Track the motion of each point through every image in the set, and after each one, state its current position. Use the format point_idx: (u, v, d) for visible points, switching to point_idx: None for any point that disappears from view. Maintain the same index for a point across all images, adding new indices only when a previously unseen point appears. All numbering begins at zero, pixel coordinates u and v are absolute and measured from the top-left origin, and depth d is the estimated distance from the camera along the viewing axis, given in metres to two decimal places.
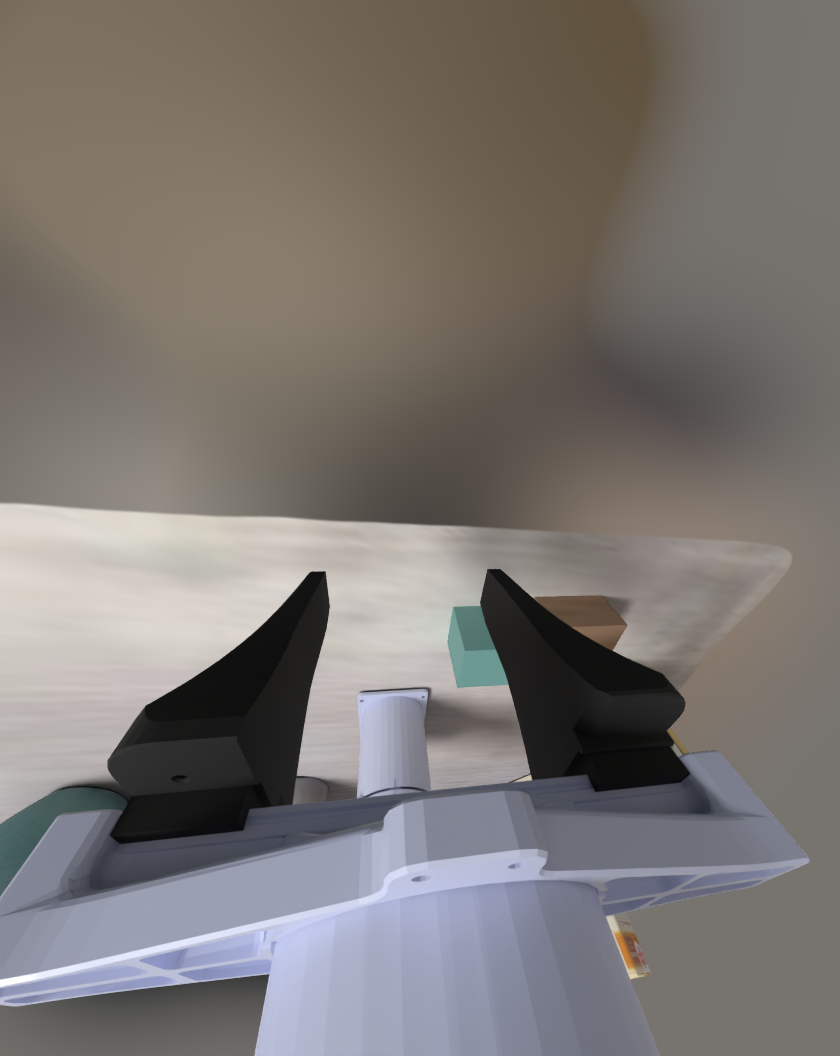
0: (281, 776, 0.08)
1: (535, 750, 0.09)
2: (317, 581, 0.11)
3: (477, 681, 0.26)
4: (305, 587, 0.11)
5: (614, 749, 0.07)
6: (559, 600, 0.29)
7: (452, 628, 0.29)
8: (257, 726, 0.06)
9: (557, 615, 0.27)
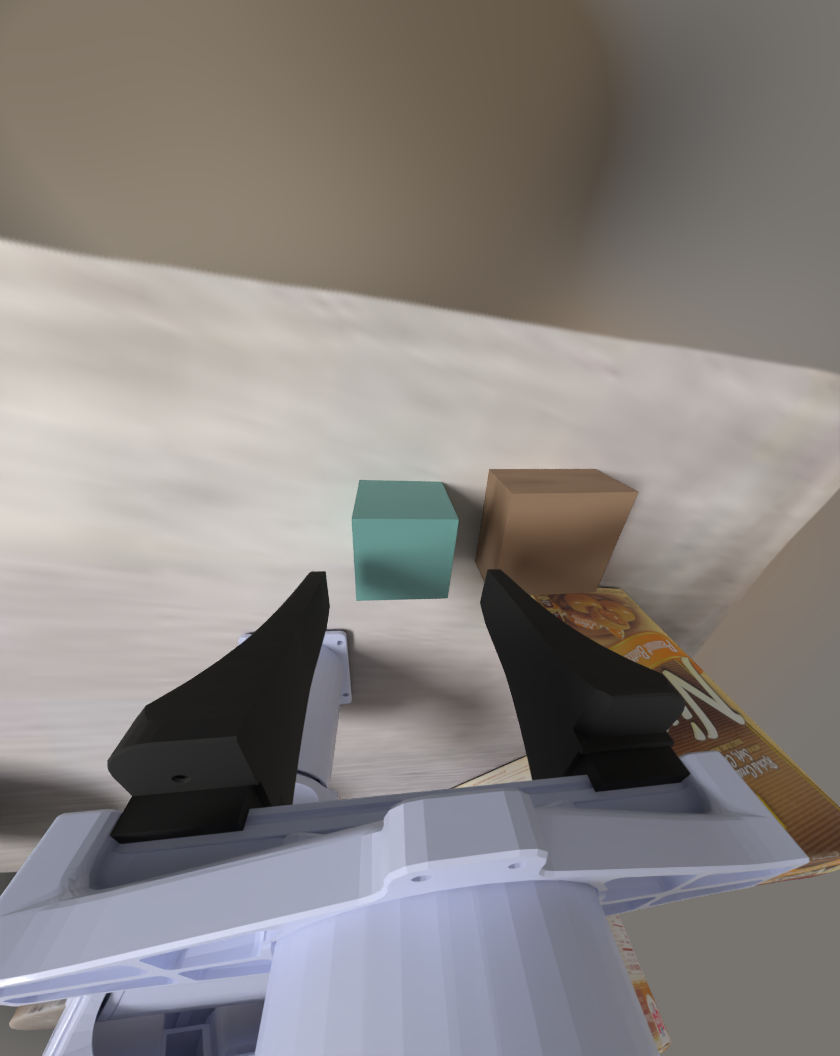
0: (281, 776, 0.08)
1: (534, 750, 0.09)
2: (317, 581, 0.11)
3: (388, 589, 0.16)
4: (305, 587, 0.11)
5: (614, 749, 0.07)
6: (527, 472, 0.18)
7: None
8: (257, 726, 0.06)
9: (521, 483, 0.16)
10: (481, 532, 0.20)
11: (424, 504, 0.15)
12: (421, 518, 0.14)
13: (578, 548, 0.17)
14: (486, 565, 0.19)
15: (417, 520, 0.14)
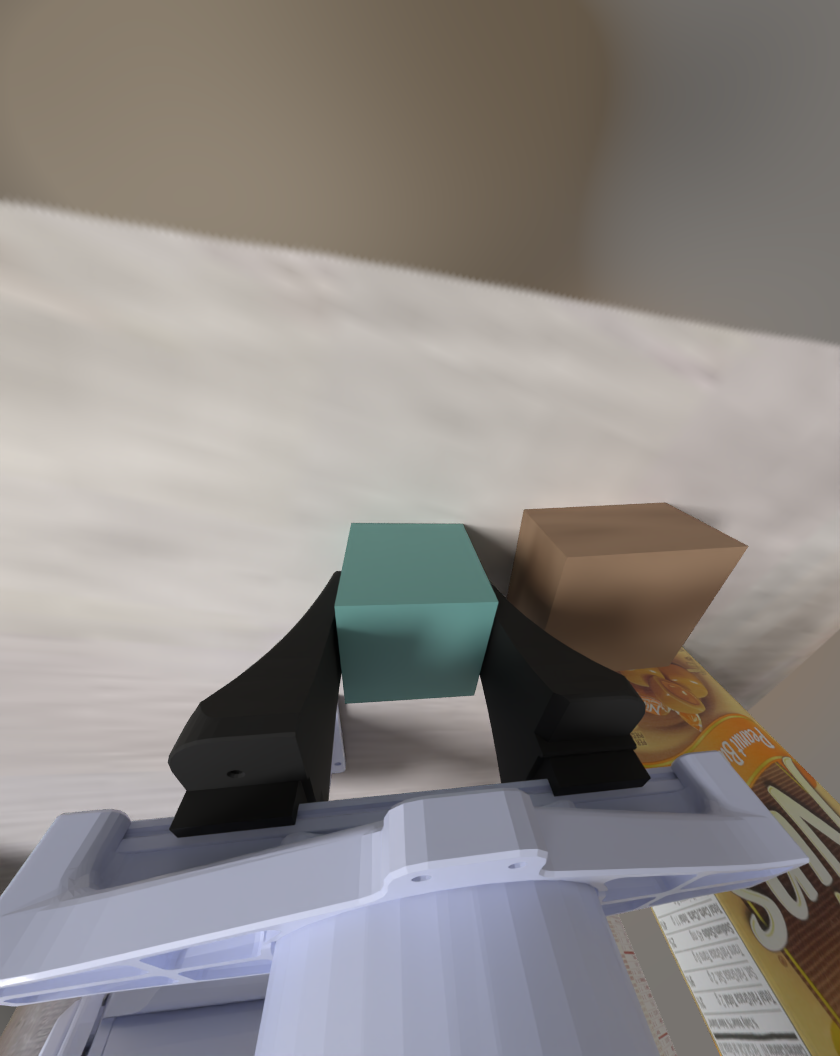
0: (321, 772, 0.08)
1: (503, 753, 0.09)
2: None
3: (391, 689, 0.11)
4: (333, 586, 0.11)
5: (575, 753, 0.07)
6: (577, 512, 0.13)
7: None
8: (307, 722, 0.06)
9: (574, 535, 0.12)
10: (512, 586, 0.15)
11: (444, 570, 0.10)
12: (441, 600, 0.09)
13: (652, 618, 0.12)
14: None
15: (436, 605, 0.09)
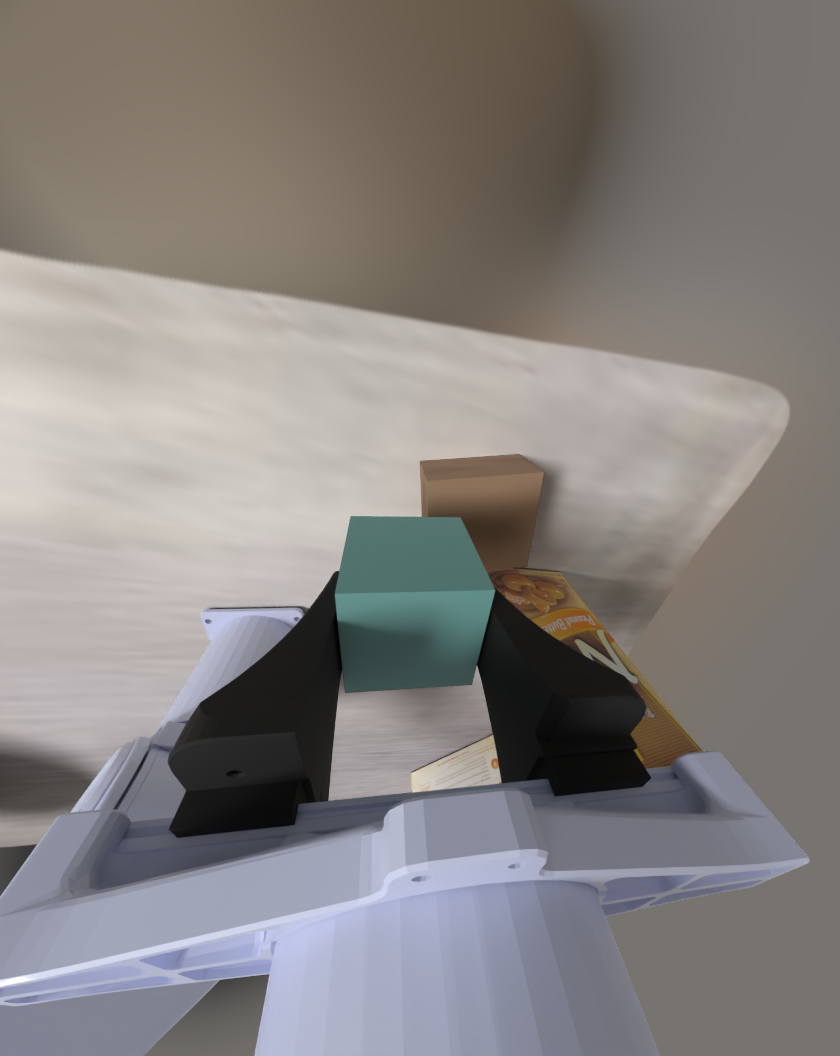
0: (321, 772, 0.08)
1: (503, 753, 0.09)
2: None
3: (390, 677, 0.11)
4: (333, 586, 0.11)
5: (575, 753, 0.07)
6: (454, 461, 0.20)
7: None
8: (307, 722, 0.06)
9: (441, 471, 0.18)
10: None
11: (442, 560, 0.11)
12: (439, 588, 0.09)
13: (500, 526, 0.19)
14: None
15: (434, 593, 0.09)
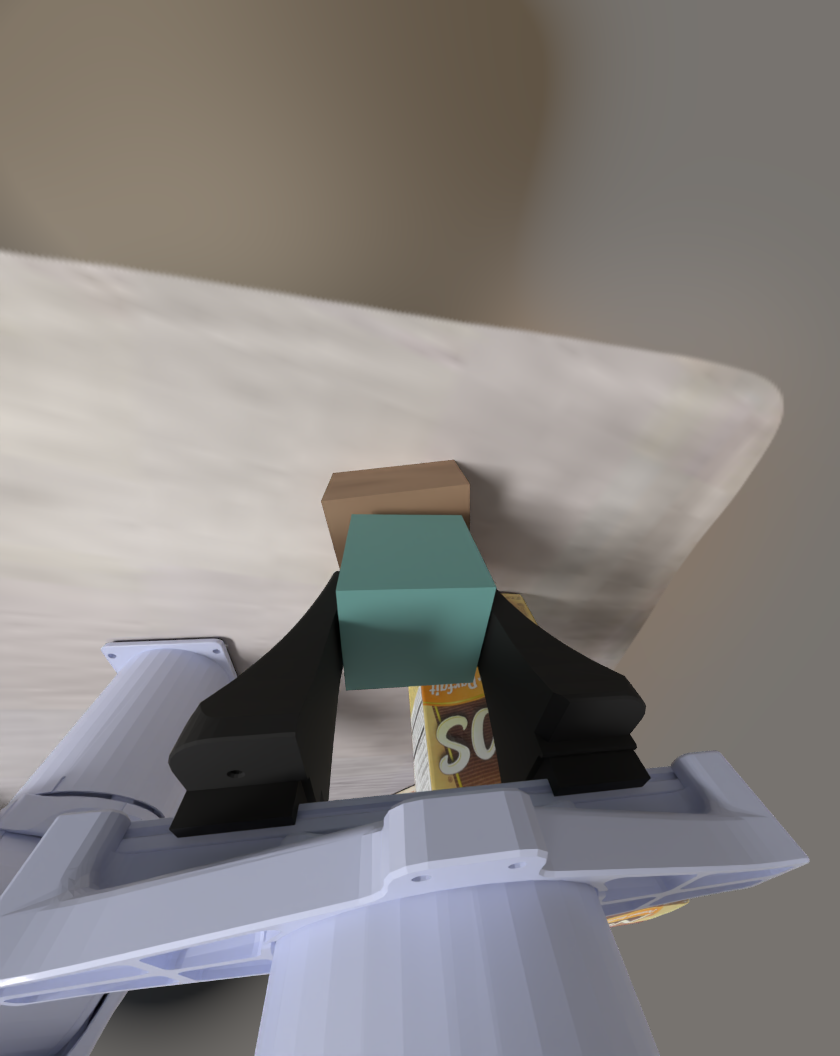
0: (321, 772, 0.08)
1: (503, 753, 0.09)
2: None
3: (391, 675, 0.11)
4: (333, 586, 0.11)
5: (575, 753, 0.07)
6: (372, 472, 0.17)
7: None
8: (307, 722, 0.06)
9: (347, 487, 0.15)
10: None
11: (443, 557, 0.11)
12: (440, 586, 0.09)
13: None
14: None
15: (435, 590, 0.09)
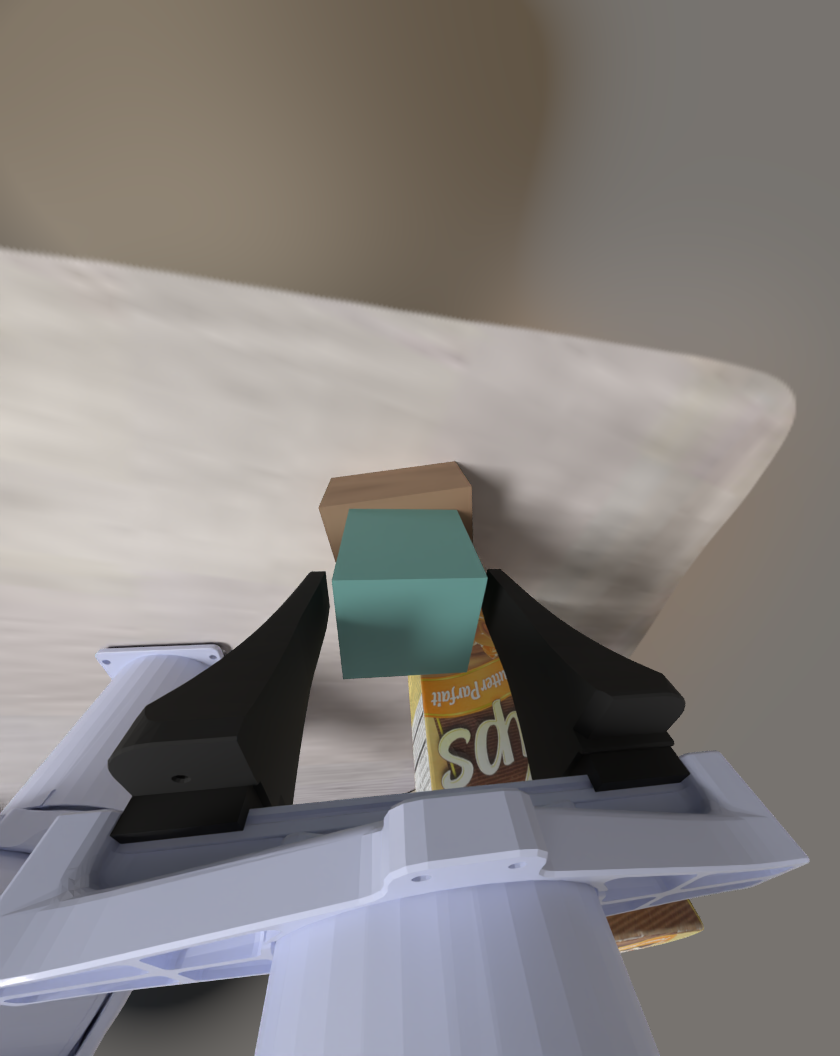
0: (281, 776, 0.08)
1: (535, 750, 0.09)
2: (317, 581, 0.11)
3: (387, 664, 0.12)
4: (305, 587, 0.11)
5: (614, 749, 0.07)
6: (371, 475, 0.16)
7: None
8: (257, 726, 0.06)
9: (345, 492, 0.15)
10: None
11: (437, 550, 0.11)
12: (433, 576, 0.10)
13: None
14: None
15: (428, 580, 0.10)
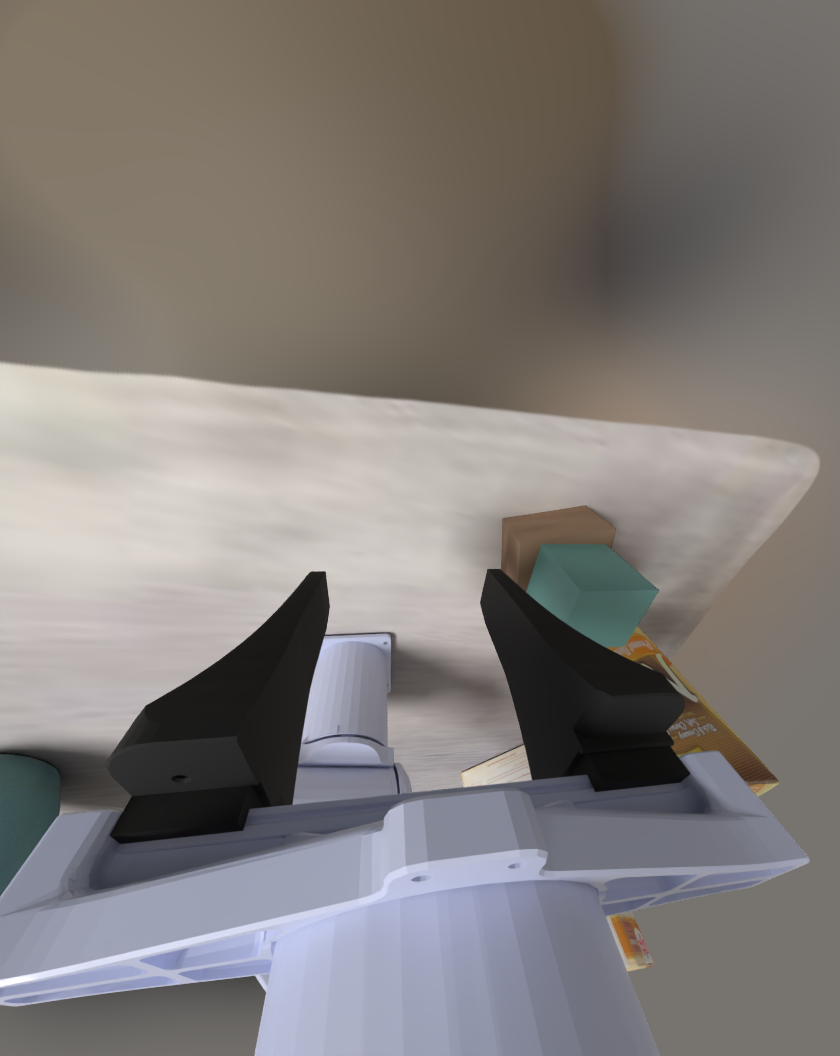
0: (281, 776, 0.08)
1: (534, 750, 0.09)
2: (317, 581, 0.11)
3: None
4: (305, 587, 0.11)
5: (614, 749, 0.07)
6: (532, 517, 0.24)
7: (540, 574, 0.21)
8: (257, 726, 0.06)
9: (527, 531, 0.22)
10: (502, 562, 0.26)
11: (618, 573, 0.19)
12: (630, 589, 0.17)
13: None
14: None
15: (628, 591, 0.17)
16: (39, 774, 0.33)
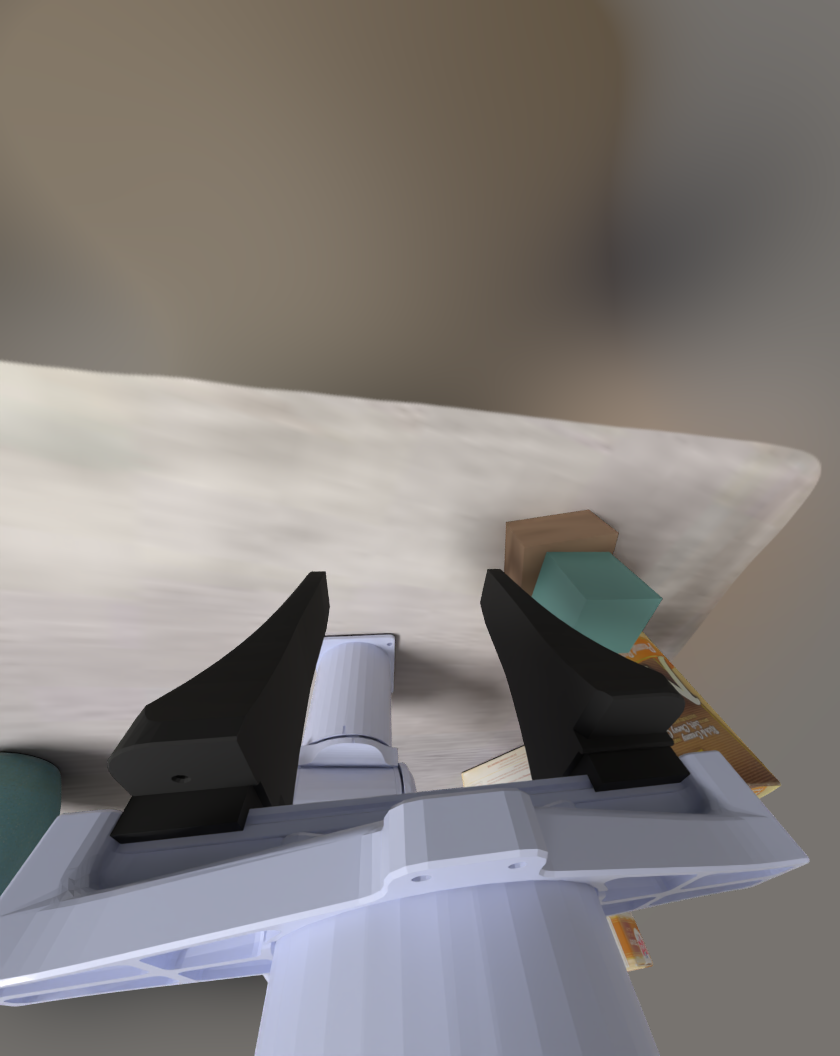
0: (281, 776, 0.08)
1: (535, 750, 0.09)
2: (317, 581, 0.11)
3: None
4: (305, 587, 0.11)
5: (614, 749, 0.07)
6: (535, 521, 0.24)
7: (545, 581, 0.22)
8: (257, 726, 0.06)
9: (530, 535, 0.23)
10: (505, 565, 0.26)
11: (622, 581, 0.19)
12: (634, 597, 0.18)
13: None
14: None
15: (633, 600, 0.18)
16: (40, 773, 0.33)
